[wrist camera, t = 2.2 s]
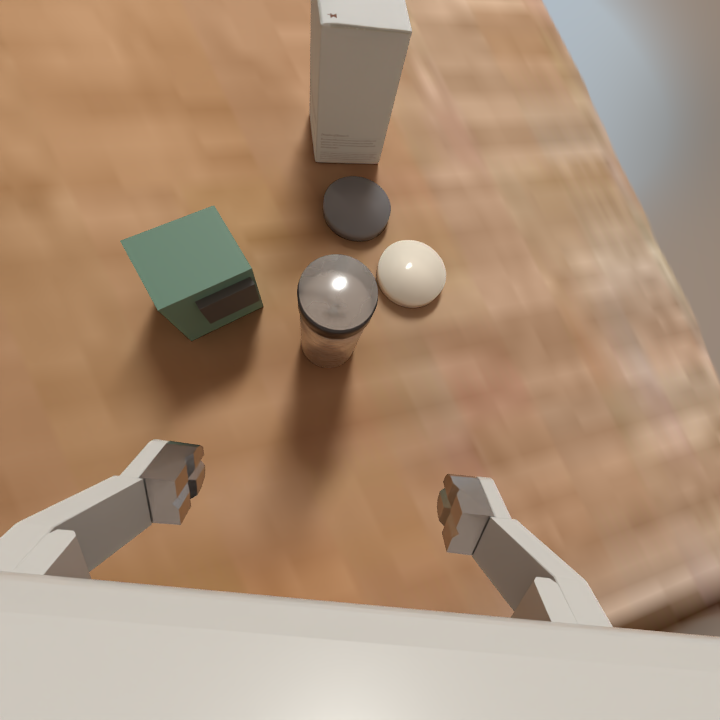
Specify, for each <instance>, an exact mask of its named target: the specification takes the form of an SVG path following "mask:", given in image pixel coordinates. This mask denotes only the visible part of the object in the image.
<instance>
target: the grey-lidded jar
mask: <svg viewBox="0 0 720 720" xmlns="http://www.w3.org/2000/svg"><path fill="white" fill-rule="evenodd" d="M297 296H298V309H299V313H300V326H301V346H302V350H303V352H304V354H305V356H306V357H307V358H308V360H309V361H311V362H312V363H313V364H315V365H317V366H320V367H324V368H333V367H337V366H340V365H342V364H343V363H345V362H346V361H347V360H348V359H349V358H350V356H351V354H352V352H353V350H354V348H355V346H356V344H357V342H358V340H359V338H360V336H361V334H362V332H363V330H364V328H365V327H366V326H367V324H368V323H369V321H370V319H371V317H372V315H373V313H374V311H375V309H376V306H377V301H378V288H377V283H376V281H375V278H374V276H373V274H372V273H371V272H370V270H369V269H368V268H367V267H366V266H365V265H364V264H363V263H361V262H360V261H358V260H356V259H354V258H352V257H349V256H345V255H338V254H334V255H327V256H323V257H320V258H318V259H316V260H314V261H313V262H312V263H310V264H309V265H308V266H307V268H306V269H305V270H304V272H303V273H302V276H301V278H300V280H299V283H298V289H297Z"/></svg>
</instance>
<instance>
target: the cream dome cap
mask: <svg viewBox="0 0 720 720" xmlns="http://www.w3.org/2000/svg"><path fill="white" fill-rule="evenodd" d="M376 276H377V281H378V284H379V287H380V289H381V290H382V292H383V293H384V295H385V296H386V297H387V298H388V299H390V300H391V301H392V302H394V303H396V304H398V305H400V306H403V307H407V308H418V307H422V306H425V305H427V304H429V303H430V302H432V301H433V300H434V299H435V298H436V297H437V296H438V294H439V293H440V292H441V291H442V289H443V287H444V285H445V281H446V270H445V266H444V263H443V261H442V259H441V258H440V256H439V255H438V254H437V253H436V252H435V251H434V250H433V249H432V248H431V247H429V246H428V245H426V244H424V243H421V242H418V241H413V240H403V241H398V242H396V243H394V244H392V245H390V246H389V247H388V248H387V249H386V250H385V251H384V252H383V254H382V256H381V258H380V260H379V263H378V266H377V271H376Z"/></svg>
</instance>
